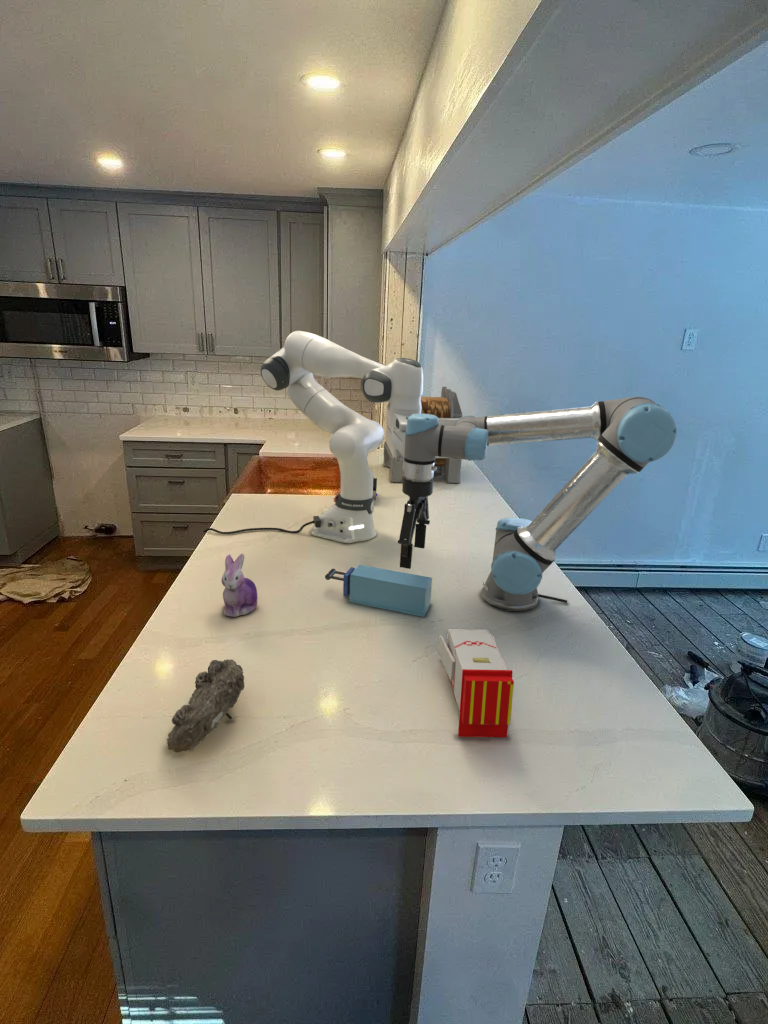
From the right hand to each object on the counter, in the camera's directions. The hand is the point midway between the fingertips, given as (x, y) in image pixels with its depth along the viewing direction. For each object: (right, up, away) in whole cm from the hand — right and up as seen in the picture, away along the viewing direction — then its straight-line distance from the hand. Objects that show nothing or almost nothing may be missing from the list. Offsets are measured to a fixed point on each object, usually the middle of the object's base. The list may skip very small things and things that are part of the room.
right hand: (412, 557), depth 146 cm
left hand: (-2, +25, +18) cm, 31 cm away
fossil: (-40, -28, -38) cm, 62 cm away
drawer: (-11, -11, +8) cm, 18 cm away
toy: (+11, -26, -27) cm, 39 cm away
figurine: (-44, -14, 0) cm, 46 cm away
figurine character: (-14, +17, +88) cm, 91 cm away
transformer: (+10, +30, +129) cm, 133 cm away
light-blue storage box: (-6, -13, +6) cm, 16 cm away
